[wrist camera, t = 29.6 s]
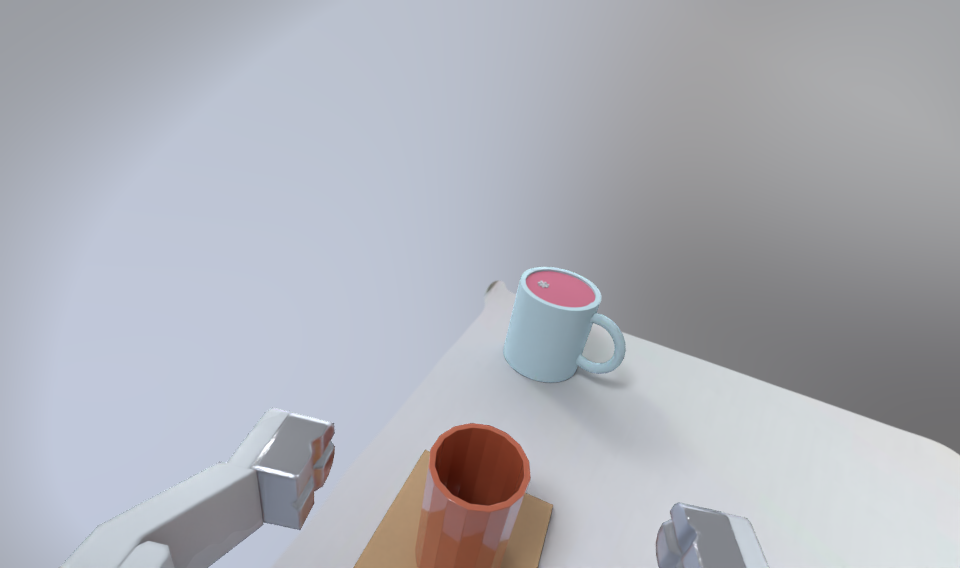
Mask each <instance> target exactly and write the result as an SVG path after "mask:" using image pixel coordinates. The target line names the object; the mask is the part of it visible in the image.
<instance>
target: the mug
mask: <svg viewBox="0 0 960 568" xmlns="http://www.w3.org/2000/svg"><path fill="white" fill-rule="evenodd" d="M600 302H601V294H600V291H599V290H598V288H597V287H596V286H595V285H594V284H593V283H592V282H590V281H589V280H588V279H586V278H584V277H582V276H581V275H578V274H576V273H574V272H571V271H568V270H564V269H560V268H553V267H537V268H532V269H529V270H527V271H525V272H524V273H523V274H522V276H521V278H520V282H519V287H518V291H517V295H516V299H515V303H514V307H513V311H512V316H511V320H510V324H509V328H508V332H507V336H506V341H505V345H504V356H505V359H506V360H507V362H508V363H509V365H510V366H511V367H512V368H513V369H514V370H516V371H517V372H518V373H520V374H522V375H523V376H525V377H528V378H530V379H533V380H536V381H541V382H549V383H553V382H561V381H564V380H567V379H569V378H570V377H571V376H573V374H574V373H575V372H576V369H577V366H580V367H581V368H582V369H584V370H586V371H589V372H591V373H596V374H603V373H608V372H611V371H613V370H614V369H616V368H617V367H618V366H619V365H620V364H621V362H622V360H623V359H624V355H625V351H626V349H625V340H624V337H623V334H622V332H621V331H620V329H619V327H618V326H617V325H616V324H615V323H614V322H613V321H612V320H610V319H609V318H608V317H606V316H604V315H601V314H599V313H597V310H598V307H599V304H600ZM593 323H595V324H598V325H600V326H602V327H603V328H605V329H606V330H607V331H608V332H609V333H610V335H611V337H612V338H613V341H614V344H615V351H614V355H613V357H612V358H611V359H610V360H609V361H608V362H605V363H600V364H599V363H593V362H591V361H588V360H587V359H586V358H584V357H583V356H582V352H583V349H584V347H585V344H586V341H587V338H588V335H589V333H590V330H591V327H592V324H593Z"/></svg>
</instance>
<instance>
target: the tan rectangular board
mask: <svg viewBox="0 0 960 568" xmlns="http://www.w3.org/2000/svg"><path fill="white" fill-rule="evenodd" d="M429 456H430V452H429V451H427V450H425V451H424V452H423V454H422V455H421V457H420V459H419V460H418V462H417V464H416V465H415V467H414V469H413V470H412V472H411V474H410V475H409V477H408V479H407V480H406V482H405V483H404V485H403V487H402V488H401V490H400V492H399V493H398V495H397V497H396V498H395V500H394V502H393V503H392V505H391V507H390V508H389V510H388V511H387V513H386V515H385V516H384V518H383V520H382V521H381V523H380V525H379V526H378V528H377V530H376V531H375V533H374V535H373V536H372V538H371V539H370V541H369V543H368V544H367V546H366V548H365V549H364V551H363V553H362V554H361V556H360V558H359V559H358V561H357V563H356V564H355V566H354V567H353V568H418V567H417V564H416V559H415V546H416V539H417V532H418V526H419V520H420V513H421V507H422V501H423V494H424V488H425V482H426V475H427V469H428V463H429ZM552 507H553V505H552V504H549V503H547V502H545V501H543V500H540V499H538V498H536V497H533V496H531V495H529V494H525V496H524V499H523V502H522V505H521V508H520V511H519V514H518V517H517V520H516V523H515V526H514V529H513V532H512V535H511V538H510V541H509V543H508V546H507V549H506V552H505V555H504V558H503V561H502V564H501V566H500V568H538V564H539V560H540V556H541V552H542V548H543V544H544V540H545V536H546V532H547V528H548V524H549V520H550V516H551V512H552Z"/></svg>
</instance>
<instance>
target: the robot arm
mask: <svg viewBox="0 0 960 568" xmlns="http://www.w3.org/2000/svg"><path fill="white" fill-rule="evenodd" d="M334 433H335V432H334V423H331V422H327V421H323V420H320V419H316V418H312V417H308V416H304V415H301V414H296V413H293V412H289V411H285V410H280V409H276V408H271V409H269V410H268V411H266V412H265V413H264V415H263V416H262V417H261V418H260V420H259V421H258V423H257V424H256V425H255V426H254V428H253V429H252V430H251V431H250V433H249V434H248V435H247V437H246V438H245V439H244V440H243V442H242V443H241V444H240V446H239V447H238V448H237V450H236V451H235V452H234V453H233V455H232V456H231V457H230V459H229V460H228V461H227V463H224V462H218V463H216V464H215V465H213V466H211V467H209V468H207V469H205V470H203V471H201V472H199V473H197V474H195V475H194V476H192V477H190V478H188V479H186V480H184V481H182V482H180V483H178V484H176V485H174V486H173V487H171V488H169V489H167V490H165V491H163V492H161V493H159V494H157V495H155V496H154V497H152V498H150V499H148V500H146V501H144V502H142V503H140V504H138V505H136V506H134V507H133V508H131V509H129V510H127V511H125V512H123V513H121V514H119V515H118V516H115V517H113V518H112V519H110V520H108V521H106V522H104V523H102V524H100V525H98V526H97V527H96V528H95V529H94V531H93V532H92V533H91V534H90V535H89V536H88V537H87V538H86V539H85V540H84V541H83V542H82V543H81V544H80V546H79V547H78V548H77V549H76V550H75V551H74V552H73V553H72V554H71V555H70V556H69V557H68V558H67V559H66V560H65V562H64V563H63V564H62V565H61V566H60V567H59V568H208V567H209V566H211V565H212V564H213V563H215V562H216V561H217V560H218V559H220V558H221V557H222V556H224V555H225V554H226V553H228V552H229V551H230V550H231V549H233V548H234V547H235V546H237V545H238V544H239V543H240V542H242V541H243V540H244V539H246V538H247V537H248V536H249V535H251V534H252V533H253V532H255V531H256V530H257V529H259V528H260V527H261V526H262V525H263V522H265V523H269V524H274V525H279V526H283V527H288V528H293V529H297V530H301V528H302V526H303V524H304V522H305V520H306V518H307V516H308V514H309V512H310V510H311V508H312V506H313V505H314V491H316V490H317V489H319V488H320V487H322V486H323V485H324V483H325V481H326V479H327V477H328V475H329V472H330V469H331V466H332V463H333V458H334V450H335V449H334V448H335V446H334V445H333V443H332V442H331V439H332V437H333V435H334ZM670 514H671V518H672V519H671V520H668V521H666V522H664V523H662V525H661V527H660V529H659V531H658V534H657V540H656V556H657V561H658V566H659V568H769V566H768V563H767V561H766V558H765V556H764V553H763V551H762V548H761V546H760V544H759V541H758V539H757V536H756V534H755V531H754V529H753V527H752V524H751V523H750V521H749V520H748V519H747V518H745V517H740V516H736V515H732V514H727V513H722V512H720V511H716V510H712V509H707V508H703V507H698V506H693V505H689V504H684V503H680V502H679V503H677V504H674V506H673V507H672V509H671V510H670Z"/></svg>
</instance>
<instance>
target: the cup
mask: <svg viewBox="0 0 960 568" xmlns="http://www.w3.org/2000/svg"><path fill="white" fill-rule="evenodd" d="M530 478H531V477H530V466H529V460H528V458H527V456H526V455H525V453H524V451H523V449H522V447H521V446H520V444H518V443H517V442H516V441H515V440H514V439H513V438H512V437H511V436H510V435H508V434H507V433H506V432H503V431H501V430H499V429H497V428H495V427H492V426H490V425H483V424H475V423H469V424H464V425H459V426H455V427H453V428H451V429H449V430H448V431H446V432H445V433H443V434H441V435H440V436H439V438H438V439H437V441H436V442H435V443H434V445H433V446H432V448H431V450H430V456H429V463H428V469H427V475H426V482H425V488H424V494H423V501H422V507H421V513H420V520H419V526H418V532H417V539H416V546H415V559H416V564H417V567H418V568H500V566H501V564H502V561H503V558H504V555H505V552H506V549H507V546H508V543H509V541H510V538H511V535H512V532H513V529H514V526H515V523H516V520H517V517H518V514H519V511H520V508H521V505H522V502H523V499H524V496H525V494H526V491H527V488H528V485H529V482H530Z"/></svg>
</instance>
